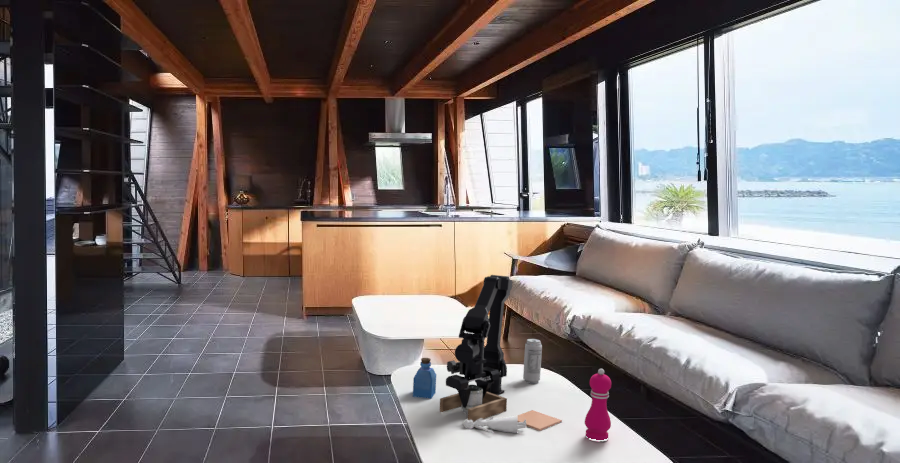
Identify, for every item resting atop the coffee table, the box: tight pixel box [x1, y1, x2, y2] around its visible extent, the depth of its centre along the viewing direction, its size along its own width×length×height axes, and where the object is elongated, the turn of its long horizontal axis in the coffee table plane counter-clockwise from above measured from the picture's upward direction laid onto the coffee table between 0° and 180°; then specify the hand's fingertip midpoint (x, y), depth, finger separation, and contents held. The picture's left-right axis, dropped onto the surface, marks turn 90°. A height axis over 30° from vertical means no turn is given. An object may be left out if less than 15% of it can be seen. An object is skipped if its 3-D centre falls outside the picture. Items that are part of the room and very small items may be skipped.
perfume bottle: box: [412, 357, 437, 400], centre depth 213 cm, size 6×6×12 cm
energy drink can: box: [522, 338, 543, 384], centre depth 234 cm, size 6×6×15 cm
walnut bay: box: [439, 392, 508, 423], centre depth 200 cm, size 17×13×4 cm
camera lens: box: [461, 384, 483, 415], centre depth 200 cm, size 6×6×8 cm
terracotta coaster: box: [516, 409, 563, 432], centre depth 195 cm, size 11×11×1 cm
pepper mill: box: [584, 368, 612, 440], centre depth 183 cm, size 7×7×20 cm
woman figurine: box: [463, 415, 527, 434], centre depth 187 cm, size 12×4×18 cm
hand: (471, 405), depth 200 cm, fingers closed on camera lens, 6 cm apart
